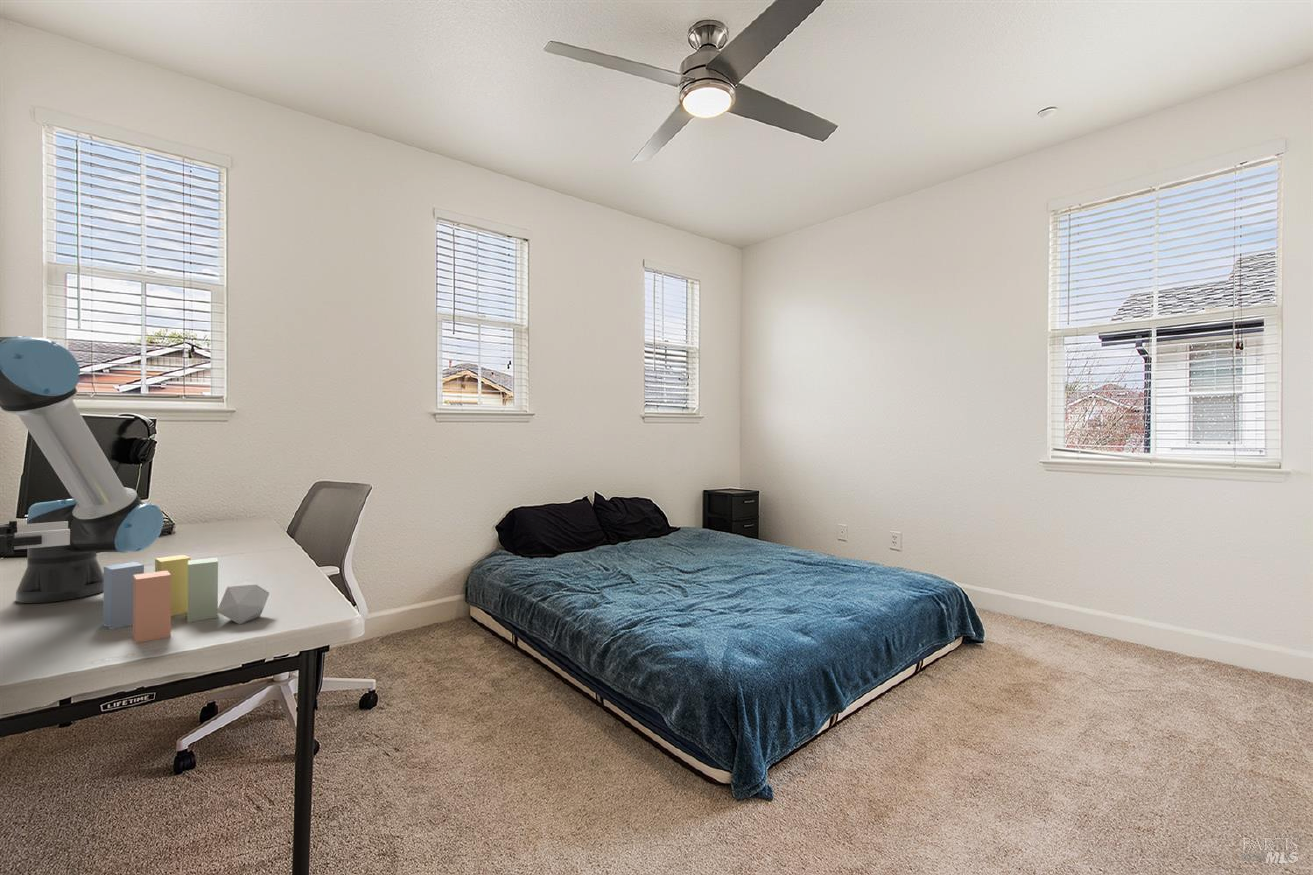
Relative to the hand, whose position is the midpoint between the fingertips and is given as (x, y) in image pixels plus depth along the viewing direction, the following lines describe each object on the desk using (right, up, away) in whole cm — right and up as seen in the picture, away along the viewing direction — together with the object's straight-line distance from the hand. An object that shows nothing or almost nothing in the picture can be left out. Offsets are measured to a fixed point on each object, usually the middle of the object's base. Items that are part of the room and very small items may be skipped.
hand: (69, 532), depth 105 cm
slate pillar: (-1, -21, +12) cm, 24 cm away
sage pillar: (+11, -21, +17) cm, 29 cm away
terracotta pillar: (+11, -21, +5) cm, 24 cm away
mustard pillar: (+3, -21, +19) cm, 29 cm away
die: (+21, -21, +15) cm, 34 cm away
